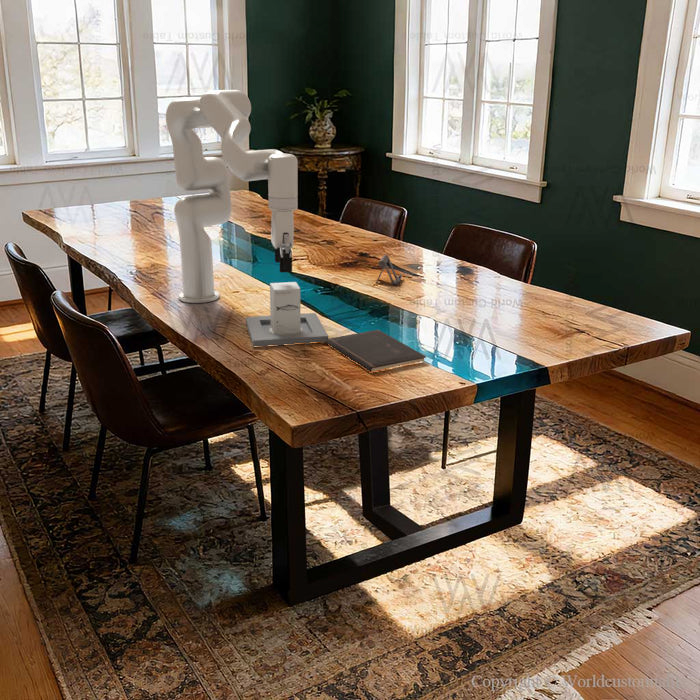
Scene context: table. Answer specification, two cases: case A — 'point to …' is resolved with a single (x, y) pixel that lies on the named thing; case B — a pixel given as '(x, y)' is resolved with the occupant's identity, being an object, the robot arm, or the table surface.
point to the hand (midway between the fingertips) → (283, 266)
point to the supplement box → (285, 307)
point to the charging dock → (265, 336)
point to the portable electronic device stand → (383, 264)
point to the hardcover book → (375, 350)
